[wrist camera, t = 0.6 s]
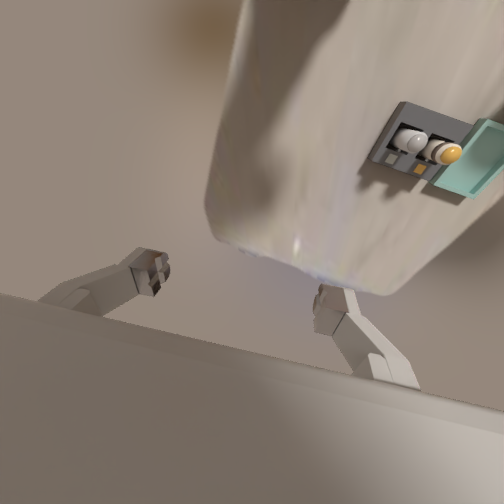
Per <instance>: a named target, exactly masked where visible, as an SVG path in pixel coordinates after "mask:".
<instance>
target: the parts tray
mask: <svg viewBox="0 0 504 504" xmlns="http://www.w3.org/2000/svg"><path fill="white" fill-rule="evenodd" d="M459 146H460V147H461V148H462V154H461V156H460V158H459V159H458V160H457V161H455V162H454V163H451V164H449V165H442V166H441V168H440V169H439V170H438V171H437V173H436V174H435V175H434V176H433V178H432V179H431V180H430V181H429V183H431V184H432V185H434V186H437V187H440V188H443V189H446V190H449V191H452V192H454V193H457V194H460V195H463V196H466V197H469V198H471V199H475V198H476V197H477V196H478V195H479V194H480V193H481V192H482V191H483V190H484V189H485V188H486V187H487V186H488V185H489V184H490V183H491V181H492V180H493V179H494V178H495V177H496V176H497V175H498V174H499V173H500V172H501V171H502V170H503V169H504V125H503V124H500V123H498V122H495V121H492V120H489V119H481V118H480V119H479V120H478V121H477V122H476V124H475V125H474V126H473V128H472V129H471V130H470V131H469V133H468V134H467V135H466V136H465V138H464V139H463V140H462V141H461V143H460V144H459Z"/></svg>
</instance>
